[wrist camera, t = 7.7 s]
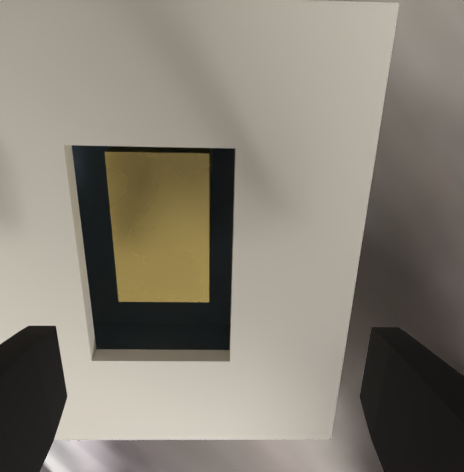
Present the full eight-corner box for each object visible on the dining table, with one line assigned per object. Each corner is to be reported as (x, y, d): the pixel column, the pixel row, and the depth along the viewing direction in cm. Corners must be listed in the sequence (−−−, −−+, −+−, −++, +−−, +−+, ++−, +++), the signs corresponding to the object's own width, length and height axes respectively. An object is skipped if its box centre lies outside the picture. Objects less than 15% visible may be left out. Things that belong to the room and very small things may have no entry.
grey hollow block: (300, 332, 22) (331, 439, 16) (58, 330, 21) (-6, 439, 15) (333, 20, 16) (399, 2, 10) (6, 11, 16) (-124, -14, 10)
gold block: (212, 241, 19) (209, 302, 14) (143, 240, 19) (118, 301, 14) (212, 125, 17) (209, 153, 12) (136, 124, 17) (104, 151, 12)
